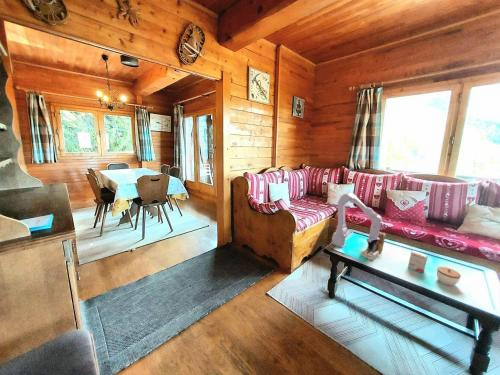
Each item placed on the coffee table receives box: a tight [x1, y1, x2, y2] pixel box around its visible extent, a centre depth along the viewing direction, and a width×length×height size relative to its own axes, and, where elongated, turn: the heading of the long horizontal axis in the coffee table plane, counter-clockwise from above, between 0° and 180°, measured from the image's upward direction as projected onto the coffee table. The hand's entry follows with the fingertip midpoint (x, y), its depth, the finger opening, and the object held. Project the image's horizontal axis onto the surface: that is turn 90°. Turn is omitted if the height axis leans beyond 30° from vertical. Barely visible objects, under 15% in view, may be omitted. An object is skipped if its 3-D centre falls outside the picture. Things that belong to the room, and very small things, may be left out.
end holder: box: [361, 246, 379, 261], centre depth 164 cm, size 8×9×4 cm
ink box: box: [407, 250, 429, 274], centre depth 148 cm, size 9×5×12 cm, turn 42°
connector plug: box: [367, 244, 376, 253], centre depth 161 cm, size 4×9×6 cm, turn 131°
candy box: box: [374, 231, 386, 253], centre depth 172 cm, size 9×4×15 cm, turn 39°
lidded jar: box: [436, 266, 462, 287], centre depth 136 cm, size 11×11×9 cm
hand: (371, 248), depth 163 cm, fingers closed on connector plug, 4 cm apart
